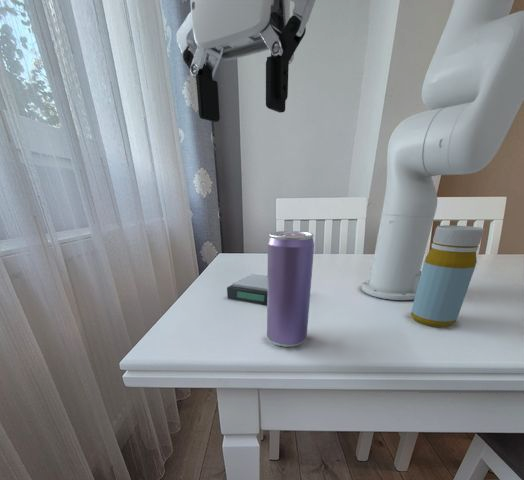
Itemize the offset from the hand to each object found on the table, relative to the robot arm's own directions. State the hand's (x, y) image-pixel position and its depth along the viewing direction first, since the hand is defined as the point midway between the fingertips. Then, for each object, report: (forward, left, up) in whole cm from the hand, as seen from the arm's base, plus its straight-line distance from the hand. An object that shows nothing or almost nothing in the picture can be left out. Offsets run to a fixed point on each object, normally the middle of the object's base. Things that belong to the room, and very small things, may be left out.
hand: (240, 115), depth 35 cm
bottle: (-27, -17, -28) cm, 43 cm away
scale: (+5, -16, -28) cm, 32 cm away
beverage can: (-7, +1, -28) cm, 29 cm away
